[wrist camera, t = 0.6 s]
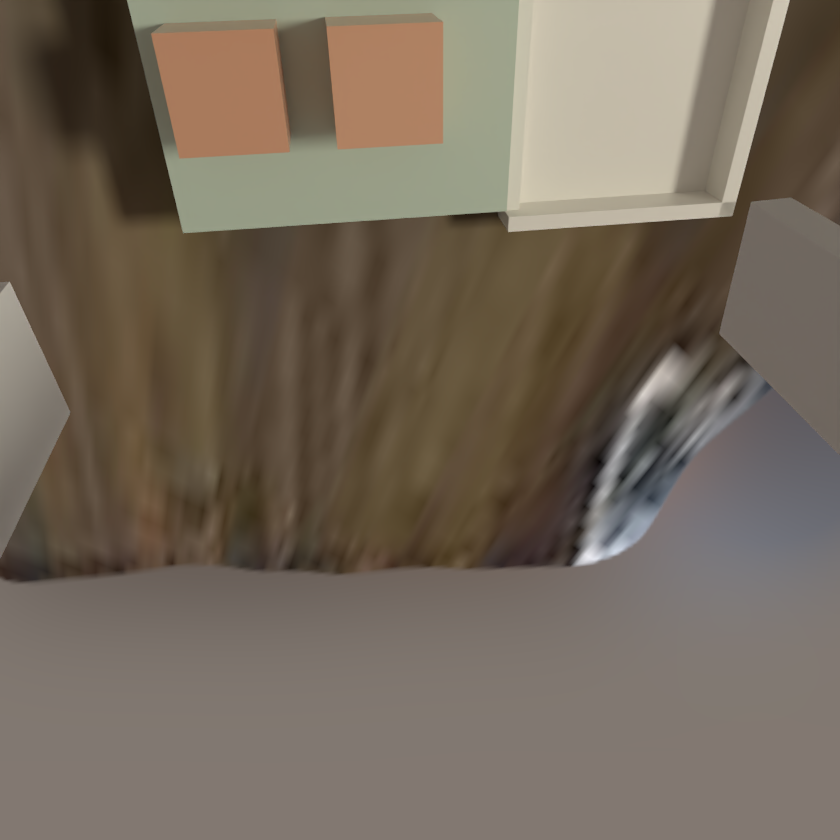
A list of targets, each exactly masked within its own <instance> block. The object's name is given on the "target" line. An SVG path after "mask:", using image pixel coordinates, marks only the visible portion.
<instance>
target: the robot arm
mask: <svg viewBox="0 0 840 840" xmlns="http://www.w3.org/2000/svg"><path fill="white" fill-rule="evenodd" d="M719 334H720V335H721V336H722V337H723V338H724V339H725V340H726V341H727V342H728V343H729V344H730V345H731V346H732V347H733V348H734V349H735V350H736V351H737V352H738V353H739V354H740V355H741V356H742V357H743V358H744V359H745V360H746V361H747V362H748V363H749V364H750V365H751V366H752V367H753V368H754V369H755V370H756V371H757V372H758V373H759V374H760V375H761V376H762V377H763V378H764V379H765V380H766V381H767V382H768V383H769V384H770V385H771V386H772V387H773V388H774V389H775V390H776V391H777V392H778V393H779V394H780V395H781V396H782V397H783V398H784V399H785V400H786V401H787V402H788V403H789V404H790V405H791V406H792V407H793V408H794V410H795V411H797V412H798V414H799V415H801V417H802V418H803V419H805V421H806V422H807V423H808V424H809V425H810V426H811V427H812V428H813V429H814V430H815V431H816V432H817V433H818V434H819V435H820V436H822V438H823V439H824V440H825V441H826V442H827V443H828V444H829V445H830V446H831V447H832V448H833V449H834V450H835V451H836V452H837V453H838V454H839V455H840V226H839V225H837V224H836V223H834V222H832V221H831V220H829V219H827V218H825V217H824V216H822V215H820V214H818V213H817V212H815V211H813V210H811V209H810V208H808V207H806V206H805V205H803V204H801V203H799V202H798V201H796V200H794V199H792V198H783V199H774V200H765V201H755V202H751V205H750V209H749V213H748V217H747V221H746V226H745V230H744V234H743V238H742V242H741V246H740V250H739V254H738V258H737V263H736V267H735V271H734V275H733V279H732V283H731V287H730V291H729V295H728V300H727V304H726V308H725V312H724V316H723V320H722V324H721V328H720V332H719ZM69 414H70V411H69V408H68V406H67V404H66V402H65V400H64V398H63V395H62V393H61V391H60V389H59V387H58V385H57V383H56V380H55V378H54V376H53V374H52V372H51V370H50V368H49V365H48V363H47V361H46V359H45V357H44V355H43V352H42V350H41V348H40V346H39V344H38V342H37V340H36V337H35V335H34V333H33V331H32V329H31V327H30V325H29V322H28V320H27V318H26V316H25V314H24V312H23V309H22V307H21V305H20V303H19V301H18V299H17V297H16V294H15V292H14V290H13V288H12V286H11V284H10V282H1V283H0V558H1V556H2V554H3V552H4V550H5V547H6V545H7V543H8V541H9V539H10V537H11V535H12V533H13V531H14V529H15V527H16V525H17V523H18V520H19V518H20V516H21V514H22V512H23V510H24V508H25V506H26V504H27V502H28V500H29V498H30V495H31V493H32V491H33V489H34V487H35V485H36V483H37V481H38V479H39V477H40V475H41V473H42V471H43V468H44V466H45V464H46V462H47V460H48V458H49V456H50V454H51V452H52V450H53V448H54V446H55V443H56V441H57V439H58V437H59V435H60V433H61V431H62V429H63V427H64V425H65V423H66V421H67V419H68V416H69Z"/></svg>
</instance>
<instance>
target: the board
mask: <svg viewBox="0 0 840 840" xmlns="http://www.w3.org/2000/svg"><path fill="white" fill-rule="evenodd" d="M127 2H128V6H129V10H130V15H131V19H132V23H133V27H134V31H135V35H136V40H137V44H138V48H139V52H140V56H141V60H142V64H143V69H144V73H145V77H146V81H147V85H148V89H149V93H150V98H151V102H152V106H153V110H154V114H155V118H156V123H157V127H158V131H159V135H160V139H161V143H162V147H163V152H164V156H165V160H166V164H167V168H168V172H169V176H170V181H171V185H172V189H173V193H174V197H175V201H176V206H177V210H178V214H179V218H180V222H181V226H182V230H183V233H191V232H206V231H221V230H235V229H250V228H265V227H280V226H294V225H309V224H324V223H339V222H354V221H368V220H383V219H398V218H413V217H427V216H442V215H457V214H472V213H487V212H501V211H507V198H508V181H509V164H510V147H511V130H512V113H513V96H514V79H515V62H516V45H517V28H518V11H519V0H127ZM417 13H433V14H434V15H435V16H436V17H438V18H439V19H440V20H442V21H443V143H442V144H425V145H407V146H390V147H372V148H355V149H337V141H336V133H335V123H334V112H333V101H332V90H331V79H330V68H329V57H328V46H327V35H326V24H325V17H340V16H365V15H391V14H417ZM263 19H276V20H277V28H278V36H279V44H280V51H281V59H282V67H283V75H284V83H285V90H286V98H287V106H288V114H289V121H290V129H291V141H290V152H285V153H268V154H250V155H233V156H216V157H198V158H181V159H179V154H178V150H177V146H176V141H175V137H174V133H173V128H172V124H171V119H170V115H169V111H168V106H167V102H166V98H165V93H164V89H163V84H162V80H161V76H160V71H159V67H158V63H157V58H156V54H155V49H154V45H153V41H152V36H151V33H152V32H154V31H155V30H156V29H158V28H159V27H160V26H162V25H163V24H164V23H186V22H211V21H237V20H263Z"/></svg>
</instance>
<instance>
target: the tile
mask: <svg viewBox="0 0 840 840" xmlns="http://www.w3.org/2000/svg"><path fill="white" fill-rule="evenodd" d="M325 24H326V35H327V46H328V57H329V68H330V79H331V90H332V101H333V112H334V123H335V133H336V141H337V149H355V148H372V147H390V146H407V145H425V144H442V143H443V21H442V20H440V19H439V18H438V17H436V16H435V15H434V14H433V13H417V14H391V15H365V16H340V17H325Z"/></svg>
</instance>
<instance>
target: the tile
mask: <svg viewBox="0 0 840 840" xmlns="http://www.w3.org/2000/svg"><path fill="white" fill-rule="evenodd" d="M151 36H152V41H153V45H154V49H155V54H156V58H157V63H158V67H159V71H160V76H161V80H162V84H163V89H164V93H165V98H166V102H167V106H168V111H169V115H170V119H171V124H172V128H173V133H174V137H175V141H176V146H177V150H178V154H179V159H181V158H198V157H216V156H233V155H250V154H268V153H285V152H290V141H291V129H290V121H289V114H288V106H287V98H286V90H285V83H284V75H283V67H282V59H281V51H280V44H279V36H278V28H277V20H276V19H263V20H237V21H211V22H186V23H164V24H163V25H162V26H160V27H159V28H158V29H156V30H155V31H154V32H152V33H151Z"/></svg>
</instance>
